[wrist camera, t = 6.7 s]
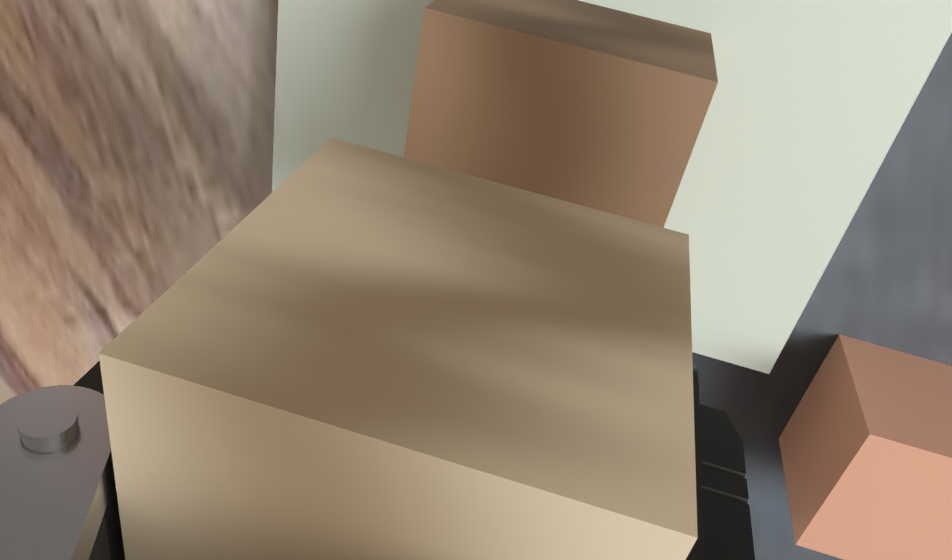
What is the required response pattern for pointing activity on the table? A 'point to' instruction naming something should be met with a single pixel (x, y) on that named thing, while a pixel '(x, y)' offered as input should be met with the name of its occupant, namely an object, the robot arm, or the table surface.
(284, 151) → the board
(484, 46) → the walnut block
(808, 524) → the terracotta block
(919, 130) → the table surface
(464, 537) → the maple block
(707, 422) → the robot arm
